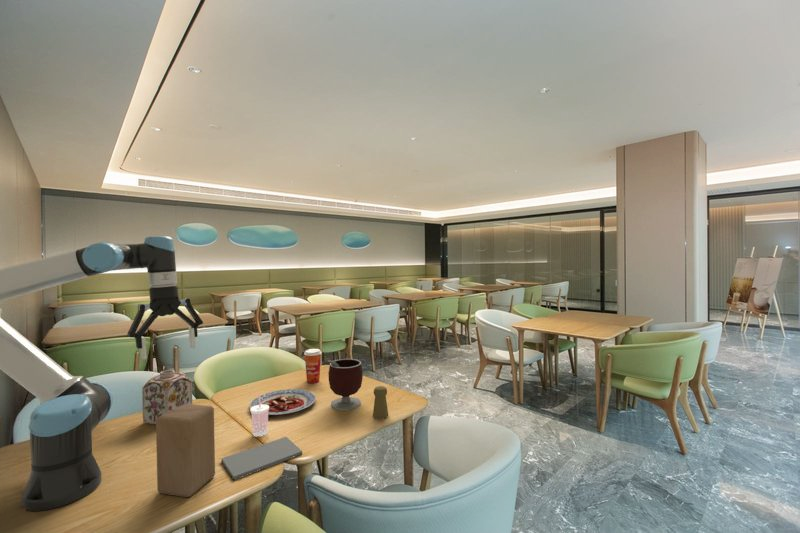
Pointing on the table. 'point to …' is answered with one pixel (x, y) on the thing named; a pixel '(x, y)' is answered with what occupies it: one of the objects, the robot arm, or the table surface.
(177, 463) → the block
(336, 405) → the mate gourd
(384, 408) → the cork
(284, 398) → the ceramic plate
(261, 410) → the beverage cup
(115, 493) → the table surface
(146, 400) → the decorative jar
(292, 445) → the mat
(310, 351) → the coffee cup
